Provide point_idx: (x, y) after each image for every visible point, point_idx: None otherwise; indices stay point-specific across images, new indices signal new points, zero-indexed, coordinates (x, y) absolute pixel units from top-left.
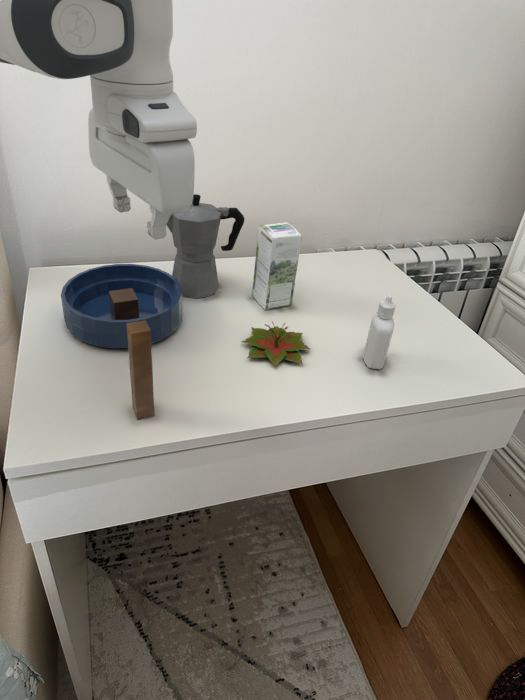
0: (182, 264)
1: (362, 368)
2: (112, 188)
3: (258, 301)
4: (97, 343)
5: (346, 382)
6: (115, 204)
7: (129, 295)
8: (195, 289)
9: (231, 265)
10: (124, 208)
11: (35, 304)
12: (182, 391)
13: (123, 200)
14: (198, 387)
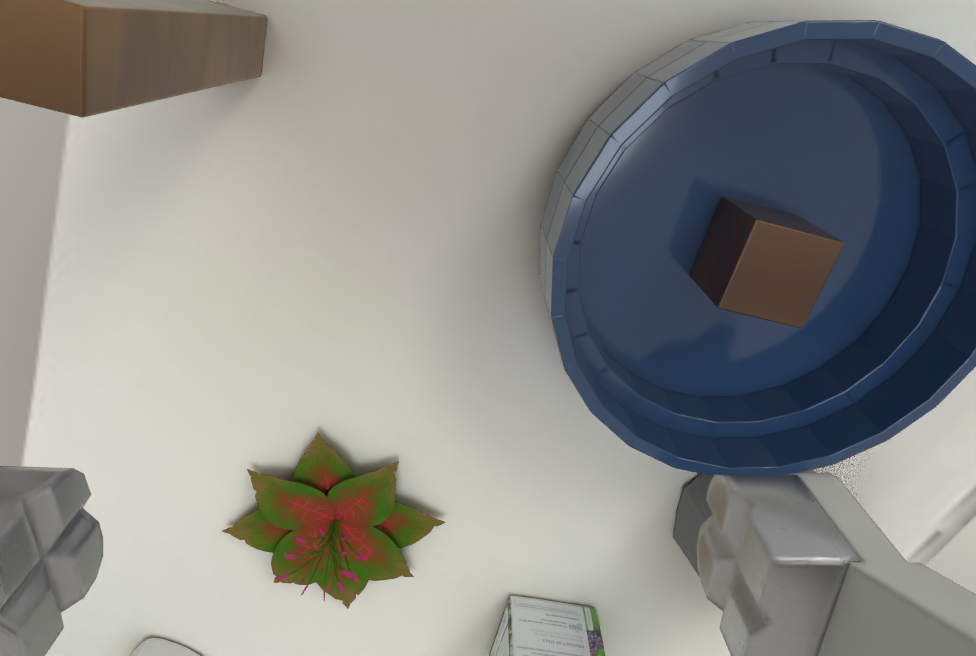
0: None
1: (160, 625)
2: (968, 649)
3: (553, 604)
4: (637, 73)
5: (125, 567)
6: (803, 505)
7: (762, 294)
8: (703, 502)
9: None
10: (722, 538)
11: None
12: (278, 200)
13: (760, 602)
14: (274, 251)
